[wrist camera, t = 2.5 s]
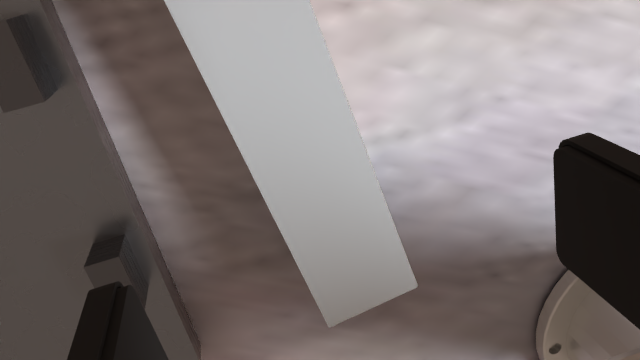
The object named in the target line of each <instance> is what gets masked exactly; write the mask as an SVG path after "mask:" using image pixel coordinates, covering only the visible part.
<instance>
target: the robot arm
mask: <svg viewBox="0 0 640 360" xmlns="http://www.w3.org/2000/svg"><path fill="white" fill-rule="evenodd" d="M553 159H554V190H555V221H556V250H557V254H558V257H559V259H560V261H561V262H562V264H563V265H564V266H565V267H566V268H567V269H569V270H568V271H567V272H566V273H565V274H564V275H563V277H562V278H561V279H560V280H559V281H558V283H557V284H556V285H555V286H554V288H553V290H552V291H551V293H550V295H549V296H548V298H547V300H546V301H545V304H544V306H543V309H542V311H541V314H540V316H539V320H538V324H537V329H536V349H537V353H538V357H539V360H640V155H638V154H636V153H634V152H631V151H629V150H627V149H625V148H623V147H620V146H618V145H616V144H614V143H612V142H610V141H607V140H605V139H603V138H601V137H599V136H596V135H594V134H592V133H585V134H582V135H578V136H575V137H572V138H569V139H566V140H563V141H562V142H561V143H560V145H559V149H556V150H555V152H554V157H553ZM67 360H169V359H168V357H167V355H166V353H165V351H164V349H163V347H162V345H161V343H160V341H159V339H158V336H157V334H156V332H155V330H154V328H153V326H152V324H151V322H150V320H149V318H148V316H147V314H146V312H145V310H144V307H143V305H142V303H141V301H140V299H139V297H138V295H137V293H136V291H135V289H134V287H133V286H132V285H127V286H123V285H122V283H121V282H119V281H116V282H113V283H110V284H107V285H104V286H101V287H97V288H94V289H91V290H89V292H88V294H87V297H86V300H85V303H84V306H83V310H82V313H81V316H80V319H79V322H78V326H77V329H76V332H75V335H74V338H73V342H72V345H71V348H70V351H69V354H68V358H67Z"/></svg>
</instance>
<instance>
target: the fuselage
mask: <svg viewBox="0 0 640 360" xmlns="http://www.w3.org/2000/svg"><path fill="white" fill-rule="evenodd" d="M164 1H165V3H166V5H167V7H168V9H169V11H170V13H171V15H172V17H173V19H174V21H175V23H176V25H177V27H178V29H179V31H180V33H181V35H182V37H183V39H184V41H185V43H186V45H187V47H188V49H189V51H190V53H191V55H192V57H193V59H194V61H195V63H196V65H197V67H198V69H199V71H200V73H201V75H202V77H203V79H204V81H205V83H206V85H207V87H208V89H209V91H210V93H211V95H212V97H213V99H214V101H215V103H216V105H217V107H218V109H219V111H220V113H221V115H222V117H223V119H224V121H225V123H226V125H227V127H228V129H229V131H230V133H231V135H232V137H233V139H234V140H235V142H236V144H237V146H238V148H239V150H240V152H241V154H242V156H243V158H244V160H245V162H246V164H247V166H248V168H249V170H250V172H251V174H252V176H253V178H254V180H255V182H256V184H257V186H258V188H259V190H260V192H261V194H262V196H263V198H264V200H265V202H266V204H267V206H268V208H269V210H270V212H271V214H272V216H273V218H274V220H275V222H276V224H277V226H278V228H279V230H280V232H281V234H282V236H283V238H284V240H285V242H286V244H287V246H288V248H289V250H290V252H291V254H292V256H293V258H294V260H295V262H296V264H297V266H298V268H299V270H300V272H301V274H302V276H303V278H304V280H305V282H306V284H307V286H308V288H309V290H310V292H311V293H312V295H313V297H314V299H315V301H316V303H317V305H318V307H319V309H320V311H321V313H322V315H323V317H324V319H325V321H326V323H327V325H328V327H329V328H330V327H333V326H335V325H337V324H339V323H341V322H343V321H346V320H348V319H350V318H352V317H354V316H356V315H359V314H361V313H363V312H365V311H367V310H369V309H372V308H374V307H376V306H378V305H380V304H382V303H385V302H387V301H389V300H391V299H393V298H395V297H398V296H400V295H402V294H404V293H406V292H408V291H411V290H413V289H415V288H417V287H418V285H417V282H416V279H415V277H414V274H413V271H412V269H411V266H410V263H409V261H408V258H407V256H406V253H405V250H404V248H403V245H402V242H401V240H400V237H399V235H398V232H397V229H396V227H395V224H394V221H393V219H392V216H391V213H390V211H389V208H388V206H387V203H386V200H385V198H384V195H383V192H382V190H381V187H380V185H379V182H378V179H377V177H376V174H375V171H374V169H373V166H372V163H371V161H370V158H369V156H368V153H367V150H366V148H365V145H364V142H363V140H362V137H361V135H360V132H359V129H358V127H357V124H356V121H355V119H354V116H353V113H352V111H351V108H350V106H349V103H348V100H347V98H346V95H345V92H344V90H343V87H342V85H341V82H340V79H339V77H338V74H337V71H336V69H335V66H334V63H333V61H332V58H331V56H330V53H329V50H328V48H327V45H326V42H325V40H324V37H323V35H322V32H321V29H320V27H319V24H318V21H317V19H316V16H315V13H314V11H313V8H312V6H311V3H310V0H164Z"/></svg>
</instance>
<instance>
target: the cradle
mask: <svg viewBox="0 0 640 360" xmlns="http://www.w3.org/2000/svg"><path fill="white" fill-rule="evenodd" d="M116 281H119V282H121V283H122V285H123V286H127V285H132V286H133V287H134V289H135V291H136V293H137V295H138V297H139V299H140V301H141V303H142V305H143V307H144V310H145V312H146V314H147V316H148V318H149V320H150V322H151V324H152V326H153V328H154V330H155V332H156V334H157V336H158V339H159V341H160V343H161V345H162V347H163V349H164V351H165V353H166V355H167V357H168V359H169V360H201V344H200V342H199V340H198V338H197V335H196V333H195V331H194V328H193V326H192V324H191V321H190V319H189V317H188V314H187V312H186V310H185V308H184V305H183V303H182V301H181V298H180V296H179V294H178V291H177V289H176V287H175V284H174V282H173V280H172V278H171V275H170V273H169V271H168V268H167V266H166V264H165V261H164V259H163V257H162V255H161V252H160V250H159V248H158V245H157V243H156V241H155V238H154V236H153V234H152V231H151V229H150V227H149V225H148V222H147V220H146V218H145V215H144V213H143V211H142V208H141V206H140V204H139V201H138V199H137V197H136V195H135V192H134V190H133V188H132V185H131V183H130V181H129V178H128V176H127V174H126V171H125V169H124V167H123V165H122V162H121V160H120V158H119V155H118V153H117V151H116V148H115V146H114V144H113V142H112V139H111V137H110V135H109V132H108V130H107V128H106V125H105V123H104V121H103V118H102V116H101V114H100V112H99V109H98V107H97V105H96V102H95V100H94V98H93V95H92V93H91V91H90V88H89V86H88V84H87V82H86V79H85V77H84V75H83V72H82V70H81V68H80V65H79V63H78V61H77V58H76V56H75V54H74V52H73V49H72V47H71V45H70V42H69V40H68V38H67V35H66V33H65V31H64V29H63V26H62V24H61V22H60V19H59V17H58V15H57V12H56V10H55V8H54V5H53V3H52V1H51V0H0V360H67V358H68V354H69V351H70V348H71V345H72V342H73V338H74V335H75V332H76V329H77V326H78V322H79V319H80V316H81V313H82V310H83V306H84V303H85V300H86V297H87V294H88V292H89V290H91V289H94V288H97V287H101V286H104V285H107V284H110V283H113V282H116Z"/></svg>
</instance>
